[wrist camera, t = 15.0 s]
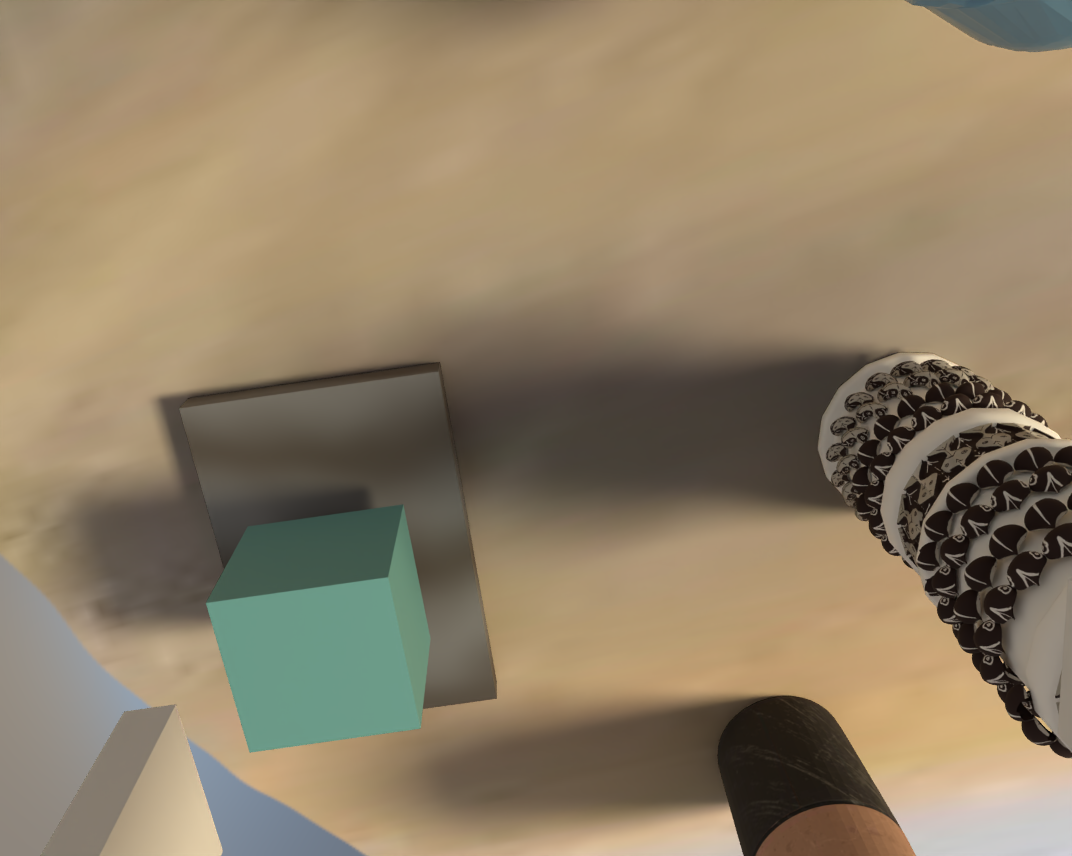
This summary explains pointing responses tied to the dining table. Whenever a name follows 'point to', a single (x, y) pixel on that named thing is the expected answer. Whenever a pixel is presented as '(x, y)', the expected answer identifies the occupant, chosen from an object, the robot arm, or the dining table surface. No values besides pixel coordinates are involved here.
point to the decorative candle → (966, 514)
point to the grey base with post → (355, 489)
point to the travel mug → (802, 785)
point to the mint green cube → (323, 629)
